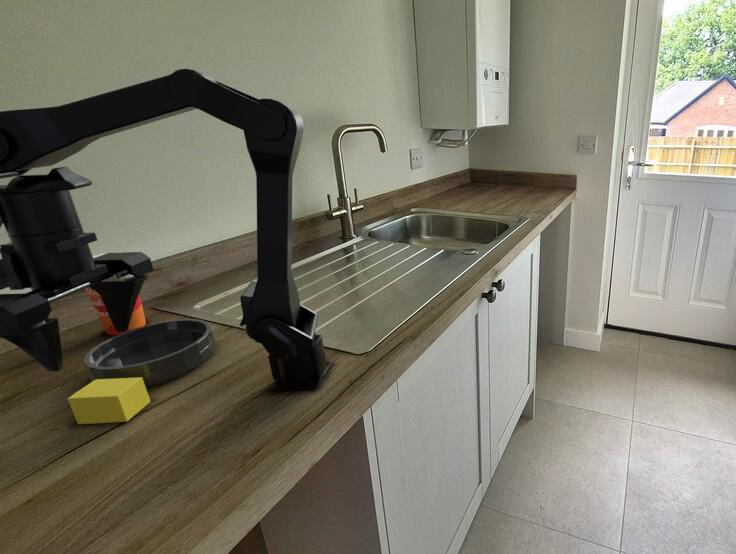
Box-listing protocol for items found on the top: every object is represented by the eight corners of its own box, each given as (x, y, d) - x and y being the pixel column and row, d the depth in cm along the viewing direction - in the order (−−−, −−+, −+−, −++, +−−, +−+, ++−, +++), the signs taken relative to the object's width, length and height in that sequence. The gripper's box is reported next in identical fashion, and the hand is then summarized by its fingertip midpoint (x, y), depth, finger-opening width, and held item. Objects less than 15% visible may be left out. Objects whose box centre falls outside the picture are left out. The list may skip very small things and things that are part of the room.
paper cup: (88, 334, 75) (61, 262, 71) (137, 315, 82) (114, 249, 77) (115, 341, 72) (88, 267, 68) (162, 321, 79) (141, 253, 75)
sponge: (150, 401, 57) (142, 377, 55) (127, 421, 53) (117, 395, 52) (105, 404, 56) (95, 379, 55) (77, 424, 53) (67, 398, 51)
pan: (234, 337, 73) (229, 317, 72) (175, 390, 59) (167, 366, 58) (145, 340, 72) (139, 320, 71) (63, 395, 58) (52, 371, 57)
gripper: (52, 213, 55) (90, 317, 60) (-151, 258, 37) (-73, 400, 42) (139, 212, 56) (170, 315, 61) (-19, 255, 38) (43, 395, 43)
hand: (92, 349), depth 52 cm, fingers open, 9 cm apart
